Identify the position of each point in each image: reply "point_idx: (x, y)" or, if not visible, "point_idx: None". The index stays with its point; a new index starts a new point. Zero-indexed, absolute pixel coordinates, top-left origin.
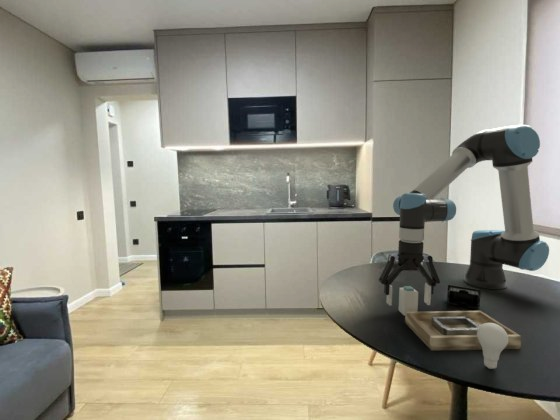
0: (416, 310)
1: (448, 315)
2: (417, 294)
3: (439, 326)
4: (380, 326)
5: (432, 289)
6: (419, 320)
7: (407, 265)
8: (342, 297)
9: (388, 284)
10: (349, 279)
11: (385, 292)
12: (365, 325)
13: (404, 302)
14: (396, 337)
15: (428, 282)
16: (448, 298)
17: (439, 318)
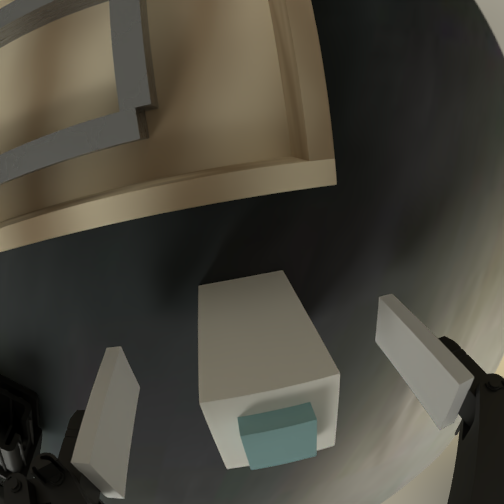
0: (205, 301)
1: (22, 218)
2: (206, 384)
3: (141, 6)
4: (440, 121)
5: (70, 441)
6: (222, 165)
7: None
8: None
9: (496, 380)
10: (362, 498)
11: (457, 347)
12: (485, 136)
13: (308, 317)
14: (393, 10)
15: (95, 500)
16: (25, 422)
17: (91, 121)
